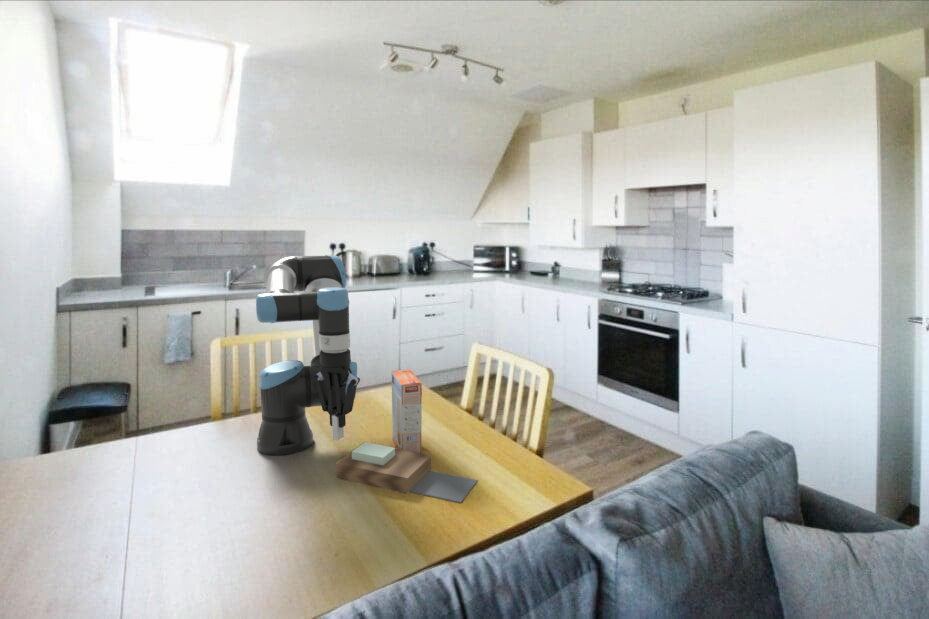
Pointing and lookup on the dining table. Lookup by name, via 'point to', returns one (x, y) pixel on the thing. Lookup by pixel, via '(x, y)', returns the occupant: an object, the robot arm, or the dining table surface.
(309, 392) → the robot arm
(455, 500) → the mat
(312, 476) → the dining table surface
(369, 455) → the pale green eraser
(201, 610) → the dining table surface
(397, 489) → the wooden block
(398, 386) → the cracker box
